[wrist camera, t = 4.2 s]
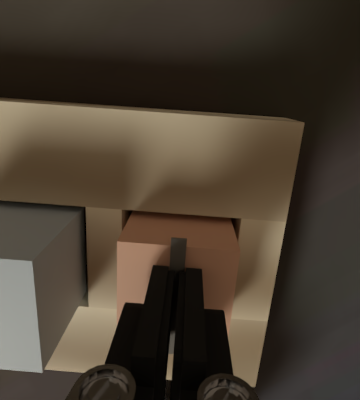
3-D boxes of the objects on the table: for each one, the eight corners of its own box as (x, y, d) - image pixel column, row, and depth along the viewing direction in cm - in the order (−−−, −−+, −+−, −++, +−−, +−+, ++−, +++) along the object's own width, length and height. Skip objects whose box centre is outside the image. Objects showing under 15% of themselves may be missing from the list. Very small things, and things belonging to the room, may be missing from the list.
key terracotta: (138, 192, 14) (116, 234, 10) (227, 199, 14) (242, 244, 10) (136, 280, 16) (115, 349, 12) (216, 286, 16) (225, 358, 11)
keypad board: (-184, 84, 14) (-263, 82, 11) (284, 117, 13) (304, 122, 11) (-118, 316, 17) (-167, 351, 15) (246, 346, 17) (255, 387, 15)
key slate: (-13, 200, 13) (-113, 251, 9) (84, 207, 13) (30, 263, 9) (-2, 284, 14) (-85, 364, 10) (86, 291, 14) (41, 375, 10)
